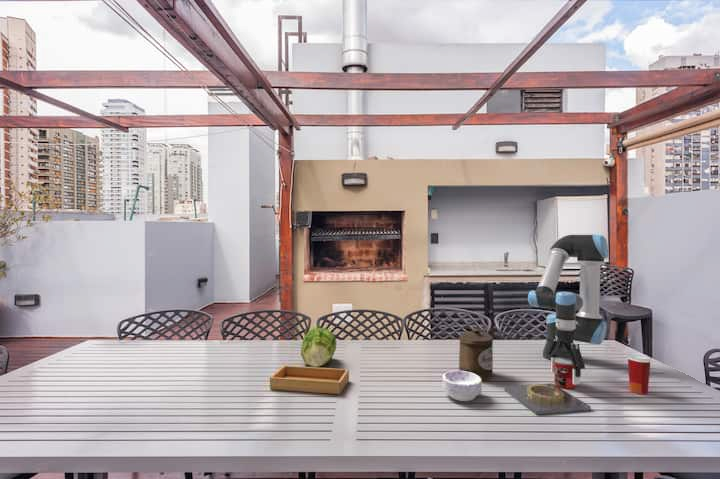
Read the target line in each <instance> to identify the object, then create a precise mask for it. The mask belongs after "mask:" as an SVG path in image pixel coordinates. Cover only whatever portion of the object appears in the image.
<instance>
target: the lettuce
mask: <svg viewBox="0 0 720 479" xmlns="http://www.w3.org/2000/svg"><path fill="white" fill-rule="evenodd" d="M336 349H337V339H336V336H335V334H334V333H333V332H332V331H331V330H330V329H328V328H325V327H314V328H312V329H309V330H308V331H307V333H305V335H304V337H303V338H302V342H301V346H300V355H301V357H302V360H303V362H304V363H305V364H307V365H308V366H309V367H317V368H320V367H322V366H324V365H327V363H328V362H330V360H332V358H333V356H334V355H335V352H336Z"/></svg>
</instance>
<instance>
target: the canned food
mask: <svg viewBox="0 0 720 479" xmlns="http://www.w3.org/2000/svg"><path fill="white" fill-rule="evenodd" d="M573 368H574V366H573V364H572V361H571V359H567V358H556V359H555V372H554V385H556V386H557V387H559V388H561V389H562V390H574V389H575V388H576V384H575V385H574V384H573Z"/></svg>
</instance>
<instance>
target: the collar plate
mask: <svg viewBox="0 0 720 479" xmlns="http://www.w3.org/2000/svg"><path fill="white" fill-rule="evenodd" d="M503 388H504V389H503V391H505V392H506V393H508V394H509V395H510V396H511V398H512V397H513V398H514V399H515V400H516V401H517V402H519V404H522V405H523V407H525V408H527V409H528V410H529V411H531V412H532V413H533V414H534V415H535V416H542V415H554V414H565V413H567V414H569V413H577V412H578V413H579V412H591V411H592V406H591V405H589V404H587V403H586V402H584V401H582V400H580V399H579V398H577V397H576V396H574V395H572V394H571V393H569V392H567V390H566V391H565V389H563V388H559V387H557V386H556V385H555V383H551V382H550V383H537V384H523V385H522V384H521V385H510V386H509V385H508V386H507V385H506V386H504V387H503Z"/></svg>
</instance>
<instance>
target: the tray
mask: <svg viewBox="0 0 720 479" xmlns="http://www.w3.org/2000/svg"><path fill="white" fill-rule="evenodd" d="M349 371H350V370H349V369H346V368H333V367H313V366H300V365H299V366H298V365H297V366H296V365H285V364H284V365H283V366H282V367H281V368H279V369H278V370H277V371H276V372H275V373H274V374H272V375H271V376H270V377H269V389H270V390H275V391H277V390H279V391H293V392H305V393H317V394H330V395H331V394H332V395H341V394H342V392H343V391H344V390H345V388H346V386H347V384H348V382H349V380H350V372H349Z"/></svg>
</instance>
